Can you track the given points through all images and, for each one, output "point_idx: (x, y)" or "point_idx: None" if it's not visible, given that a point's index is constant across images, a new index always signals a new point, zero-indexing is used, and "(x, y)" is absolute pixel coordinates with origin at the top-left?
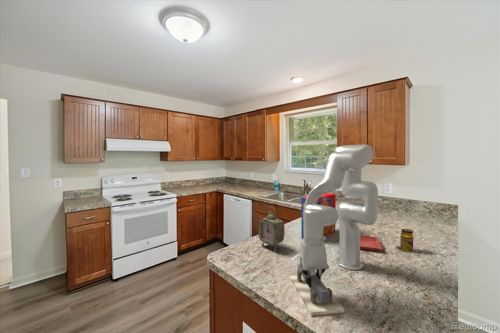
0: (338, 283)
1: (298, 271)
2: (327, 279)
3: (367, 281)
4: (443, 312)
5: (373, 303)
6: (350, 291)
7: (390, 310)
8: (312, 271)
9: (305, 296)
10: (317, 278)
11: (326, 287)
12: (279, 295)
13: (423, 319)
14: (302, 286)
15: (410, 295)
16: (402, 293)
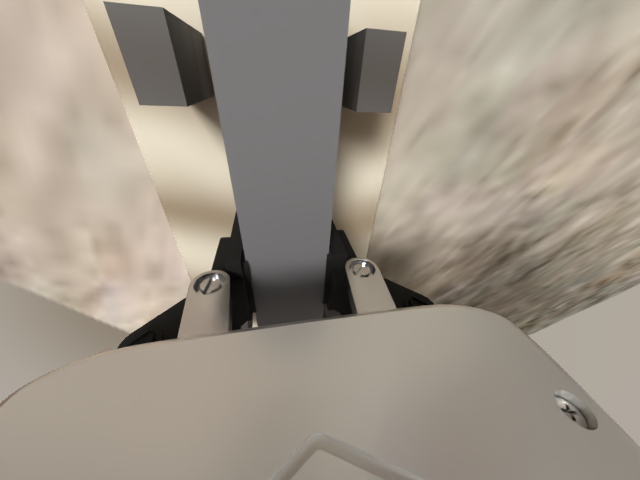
0: (489, 138)
1: (133, 62)
2: (470, 64)
3: (634, 147)
4: (578, 306)
5: (475, 281)
6: (473, 217)
7: (484, 304)
8: (323, 207)
9: (210, 269)
10: (311, 311)
11: (376, 206)
12: (8, 214)
13: (513, 323)
14: (208, 175)
15: (616, 252)
16: (614, 242)
